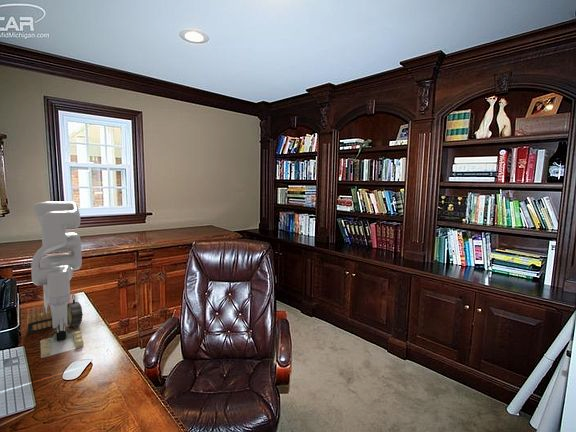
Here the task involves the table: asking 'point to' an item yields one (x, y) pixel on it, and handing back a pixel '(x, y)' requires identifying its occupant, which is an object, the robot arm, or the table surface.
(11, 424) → the table surface
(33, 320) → the ammunition clip
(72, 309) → the alarm clock
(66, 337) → the grey faceted block
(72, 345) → the spacer board
